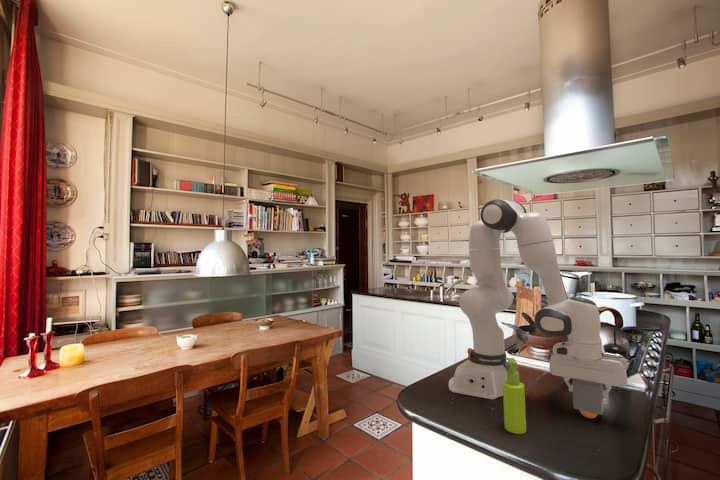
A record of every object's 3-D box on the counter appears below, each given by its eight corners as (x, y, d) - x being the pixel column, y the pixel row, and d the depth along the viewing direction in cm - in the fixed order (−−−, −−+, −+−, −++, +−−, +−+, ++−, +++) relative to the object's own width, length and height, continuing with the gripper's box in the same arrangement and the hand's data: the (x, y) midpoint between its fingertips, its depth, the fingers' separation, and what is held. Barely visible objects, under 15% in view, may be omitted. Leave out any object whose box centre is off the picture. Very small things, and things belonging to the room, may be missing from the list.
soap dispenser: (522, 422, 104) (519, 356, 105) (528, 434, 98) (525, 364, 98) (502, 421, 106) (499, 356, 106) (506, 432, 99) (503, 363, 99)
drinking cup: (634, 387, 127) (631, 333, 127) (611, 386, 128) (608, 332, 129) (622, 379, 134) (620, 328, 135) (601, 378, 136) (598, 327, 136)
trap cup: (601, 414, 102) (600, 387, 102) (573, 408, 106) (572, 382, 107) (603, 406, 107) (602, 381, 108) (576, 401, 112) (575, 376, 112)
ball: (582, 394, 108) (583, 405, 110) (575, 405, 106) (577, 416, 108) (600, 402, 104) (601, 413, 106) (593, 413, 102) (595, 425, 104)
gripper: (627, 352, 103) (630, 398, 103) (551, 343, 116) (553, 384, 115) (626, 358, 98) (630, 406, 98) (547, 347, 111) (549, 390, 111)
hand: (587, 394), depth 107 cm, fingers closed on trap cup, 7 cm apart
